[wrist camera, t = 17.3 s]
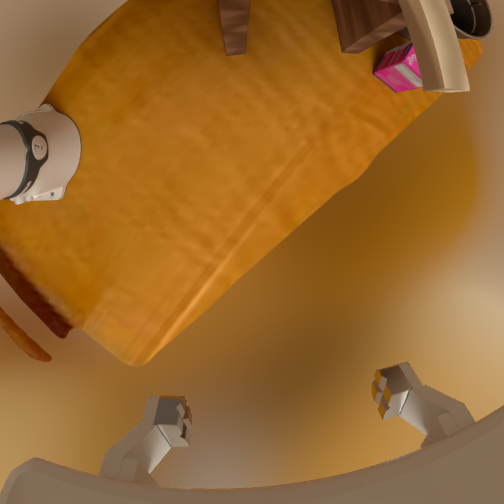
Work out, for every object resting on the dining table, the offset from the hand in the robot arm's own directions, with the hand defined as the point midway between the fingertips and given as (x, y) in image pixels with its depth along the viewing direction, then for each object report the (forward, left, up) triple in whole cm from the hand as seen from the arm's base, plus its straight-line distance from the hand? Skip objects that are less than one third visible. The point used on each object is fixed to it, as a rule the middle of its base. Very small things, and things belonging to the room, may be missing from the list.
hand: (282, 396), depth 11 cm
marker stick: (+15, +24, -13) cm, 31 cm away
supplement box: (+27, +21, -39) cm, 52 cm away
